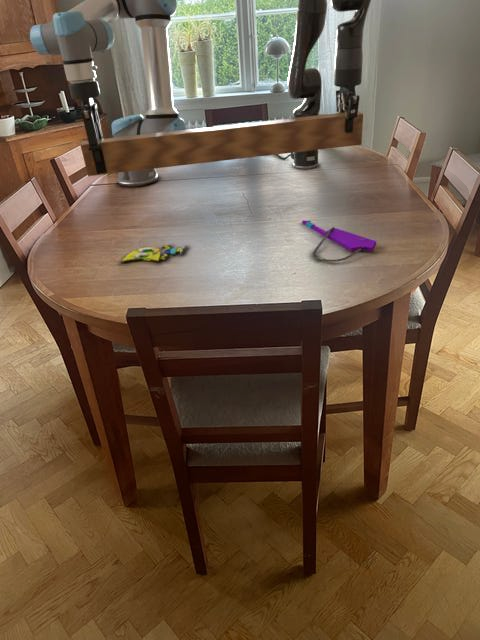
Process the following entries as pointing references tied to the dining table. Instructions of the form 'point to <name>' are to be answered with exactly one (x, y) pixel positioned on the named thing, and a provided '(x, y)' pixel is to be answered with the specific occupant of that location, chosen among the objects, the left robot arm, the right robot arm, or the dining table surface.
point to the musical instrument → (342, 240)
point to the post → (224, 143)
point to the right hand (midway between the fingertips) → (345, 130)
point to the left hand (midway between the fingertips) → (103, 170)
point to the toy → (152, 253)
